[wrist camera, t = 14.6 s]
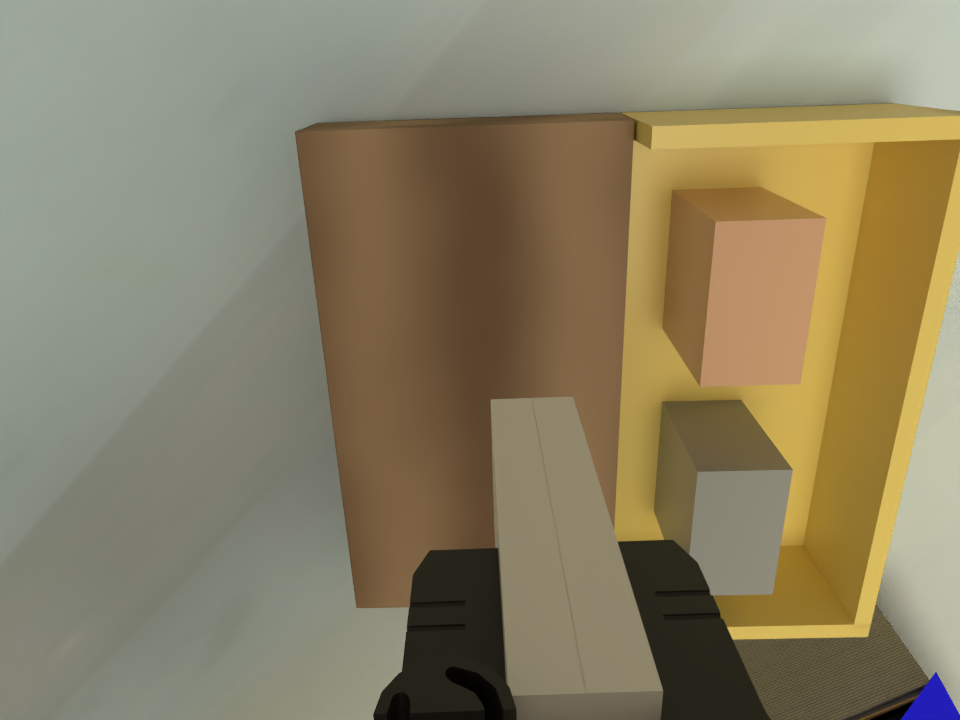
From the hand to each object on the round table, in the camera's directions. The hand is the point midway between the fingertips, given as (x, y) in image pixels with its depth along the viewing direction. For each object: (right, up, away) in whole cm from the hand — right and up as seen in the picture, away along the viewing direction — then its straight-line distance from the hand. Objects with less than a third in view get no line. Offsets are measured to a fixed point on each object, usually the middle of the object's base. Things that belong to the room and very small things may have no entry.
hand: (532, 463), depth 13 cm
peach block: (+6, +4, +9) cm, 12 cm away
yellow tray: (+8, +2, +14) cm, 16 cm away
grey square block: (+6, -3, +13) cm, 14 cm away
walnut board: (-1, +2, +14) cm, 14 cm away
